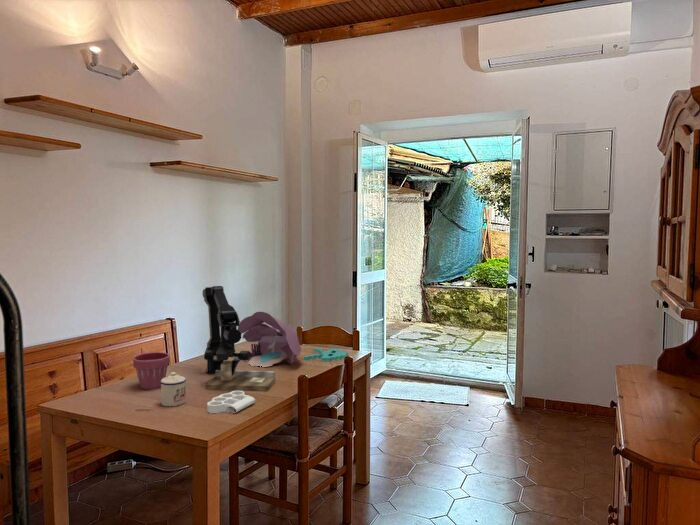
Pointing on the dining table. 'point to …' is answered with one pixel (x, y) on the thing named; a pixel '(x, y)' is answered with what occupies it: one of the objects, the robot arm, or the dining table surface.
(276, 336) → the mauve curved piece
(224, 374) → the block
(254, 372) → the walnut board
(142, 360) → the plant pot
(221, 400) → the white muffin tray
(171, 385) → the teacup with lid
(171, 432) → the dining table surface
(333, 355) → the alien figure
